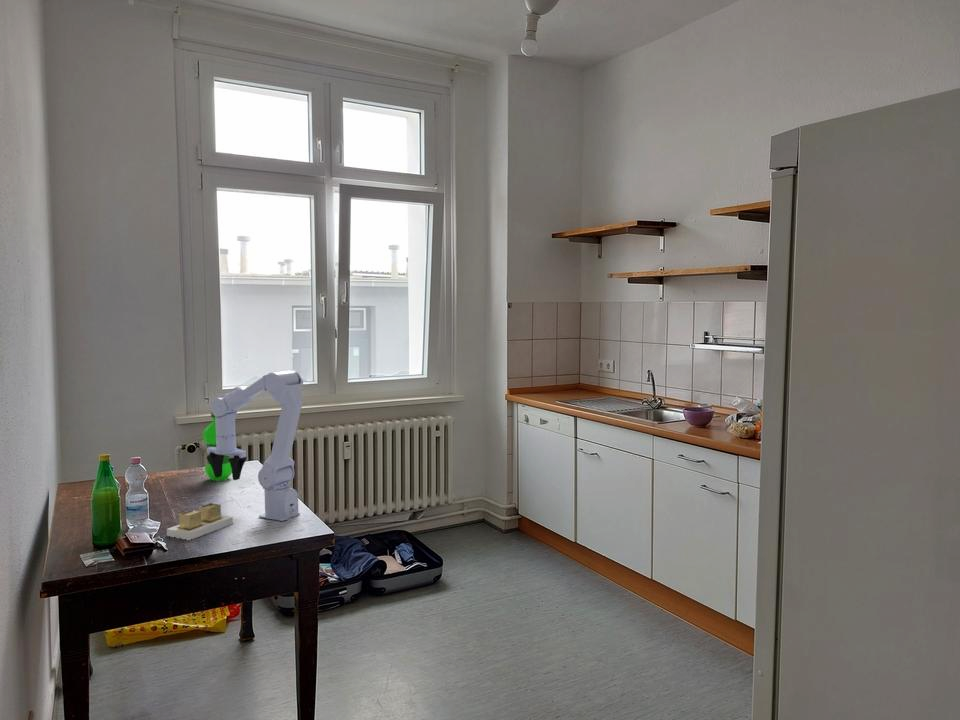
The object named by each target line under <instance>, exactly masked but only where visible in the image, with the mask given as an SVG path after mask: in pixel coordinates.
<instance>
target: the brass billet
mask: <svg viewBox="0 0 960 720" xmlns="http://www.w3.org/2000/svg"><path fill="white" fill-rule="evenodd" d="M198 509H199V510H198V511H201V522H205V523H212V522H215V521H217V520H220V519H221V515H222V511H221V510H222V507H221V504H219V503H218V504H217V503H214V502H209V503H206V504H202V505H201V506H199V508H198Z"/></svg>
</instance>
